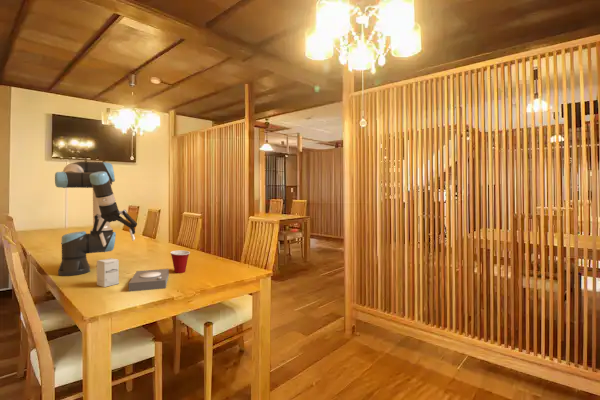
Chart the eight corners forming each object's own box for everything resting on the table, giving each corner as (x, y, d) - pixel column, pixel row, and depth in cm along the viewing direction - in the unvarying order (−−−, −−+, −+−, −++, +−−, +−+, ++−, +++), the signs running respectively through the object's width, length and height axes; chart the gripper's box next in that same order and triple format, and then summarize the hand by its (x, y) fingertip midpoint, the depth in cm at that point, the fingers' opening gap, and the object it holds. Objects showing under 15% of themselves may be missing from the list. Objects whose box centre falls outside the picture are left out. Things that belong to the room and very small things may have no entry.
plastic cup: (183, 275, 182) (183, 253, 182) (166, 273, 184) (166, 253, 184) (193, 270, 192) (193, 250, 192) (177, 269, 195) (177, 249, 194)
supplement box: (104, 287, 158) (103, 262, 158) (96, 285, 162) (96, 260, 162) (119, 283, 164) (119, 259, 164) (111, 281, 168) (111, 257, 168)
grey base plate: (136, 278, 175) (136, 269, 174) (168, 275, 180) (168, 267, 180) (128, 291, 152) (128, 280, 152) (165, 288, 157) (165, 278, 157)
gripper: (75, 210, 150) (90, 250, 158) (133, 201, 156) (144, 240, 163) (81, 205, 157) (94, 244, 165) (136, 196, 163) (146, 234, 170)
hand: (119, 242), depth 164 cm, fingers open, 13 cm apart
